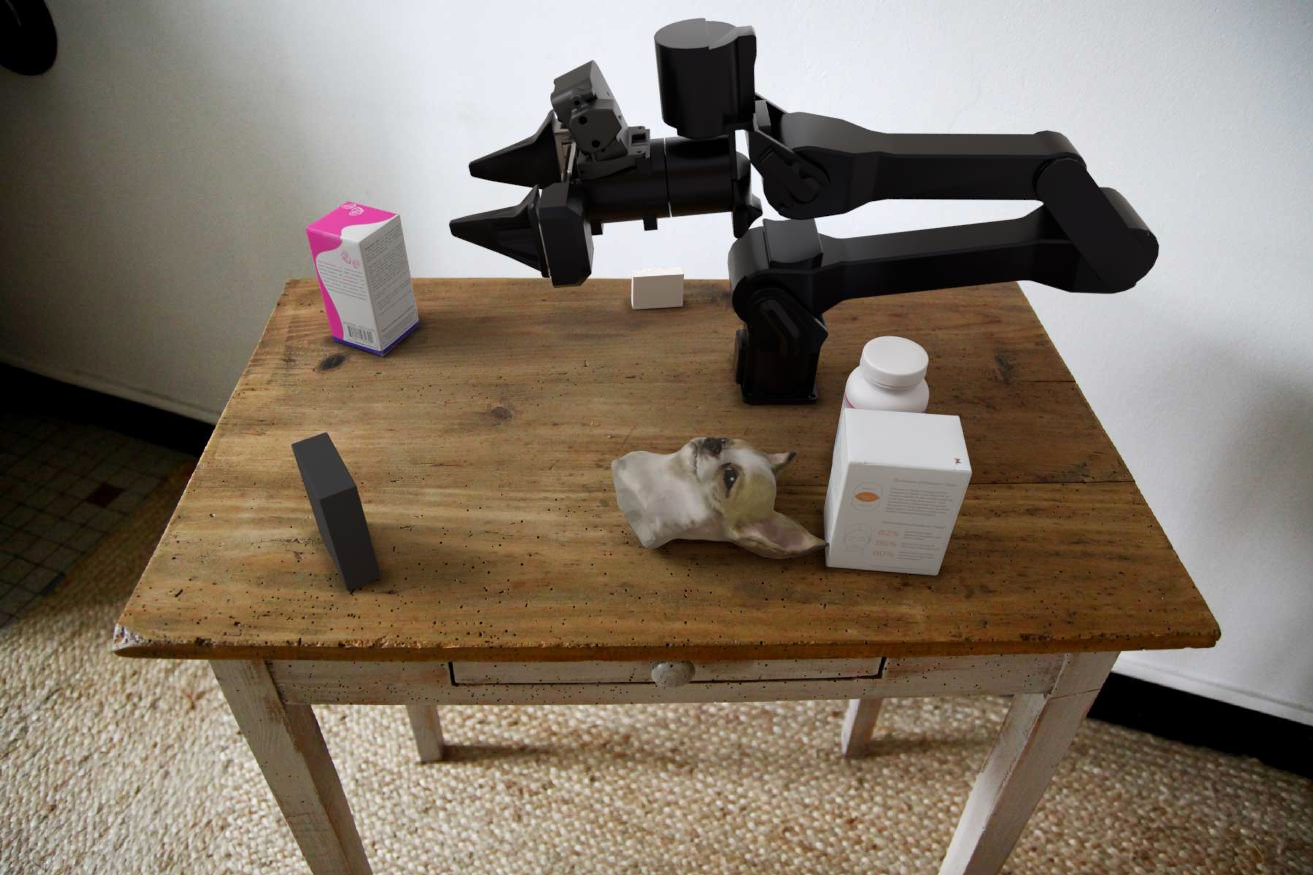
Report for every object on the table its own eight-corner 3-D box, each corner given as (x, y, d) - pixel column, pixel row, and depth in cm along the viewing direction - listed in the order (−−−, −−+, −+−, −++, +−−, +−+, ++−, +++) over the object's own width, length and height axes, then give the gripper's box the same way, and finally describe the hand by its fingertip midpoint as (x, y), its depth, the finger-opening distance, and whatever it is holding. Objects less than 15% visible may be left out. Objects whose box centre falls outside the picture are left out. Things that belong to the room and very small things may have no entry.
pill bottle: (912, 452, 75) (944, 339, 67) (901, 503, 71) (934, 388, 63) (838, 434, 76) (861, 322, 69) (823, 483, 72) (846, 369, 64)
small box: (928, 520, 69) (963, 414, 62) (938, 578, 65) (976, 471, 58) (821, 511, 70) (843, 404, 63) (823, 568, 66) (847, 460, 59)
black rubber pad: (353, 522, 68) (326, 431, 62) (381, 577, 64) (356, 485, 58) (320, 535, 67) (290, 443, 61) (348, 592, 63) (318, 500, 57)
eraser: (682, 306, 90) (684, 273, 87) (633, 310, 89) (633, 277, 87) (680, 299, 91) (682, 266, 88) (631, 302, 90) (631, 270, 87)
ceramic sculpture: (605, 393, 65) (809, 389, 68) (600, 480, 71) (787, 473, 74) (621, 502, 58) (850, 493, 60) (613, 589, 64) (823, 578, 66)
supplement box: (422, 324, 86) (402, 213, 79) (382, 358, 82) (357, 245, 75) (371, 308, 88) (347, 198, 80) (330, 341, 84) (300, 228, 76)
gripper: (656, 22, 70) (454, 44, 71) (656, 126, 56) (405, 151, 57) (669, 160, 77) (486, 178, 78) (672, 282, 64) (450, 301, 65)
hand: (460, 197), depth 69 cm, fingers open, 9 cm apart
